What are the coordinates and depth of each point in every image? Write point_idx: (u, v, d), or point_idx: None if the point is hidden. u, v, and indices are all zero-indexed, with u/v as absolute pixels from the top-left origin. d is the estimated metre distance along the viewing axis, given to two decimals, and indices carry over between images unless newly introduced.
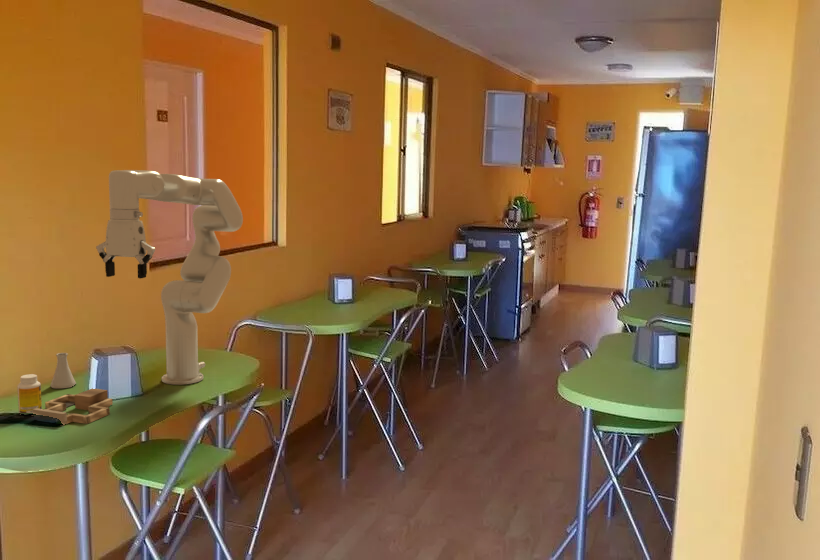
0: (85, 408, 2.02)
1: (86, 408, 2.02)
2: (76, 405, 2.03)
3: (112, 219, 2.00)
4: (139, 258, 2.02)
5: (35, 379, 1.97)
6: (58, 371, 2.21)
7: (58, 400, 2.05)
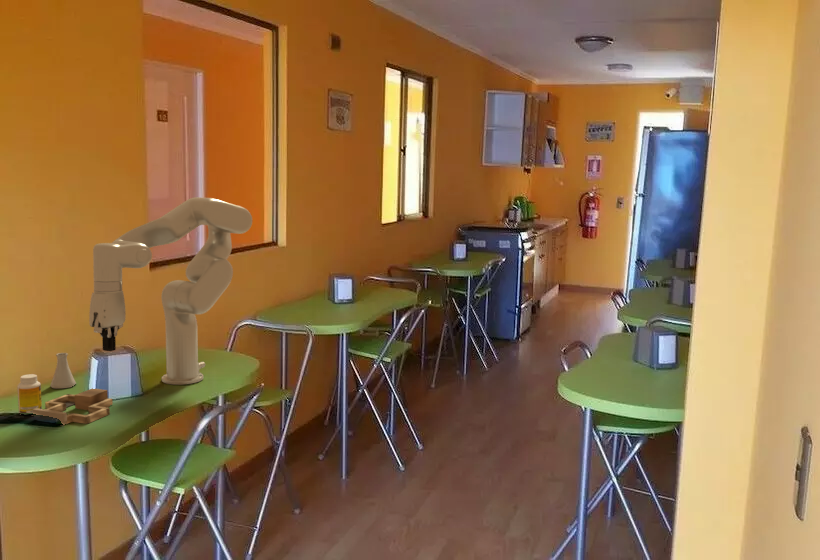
0: (85, 408, 2.02)
1: (86, 408, 2.02)
2: (76, 405, 2.03)
3: (114, 291, 2.07)
4: (116, 330, 2.12)
5: (35, 379, 1.97)
6: (58, 371, 2.21)
7: (58, 400, 2.05)
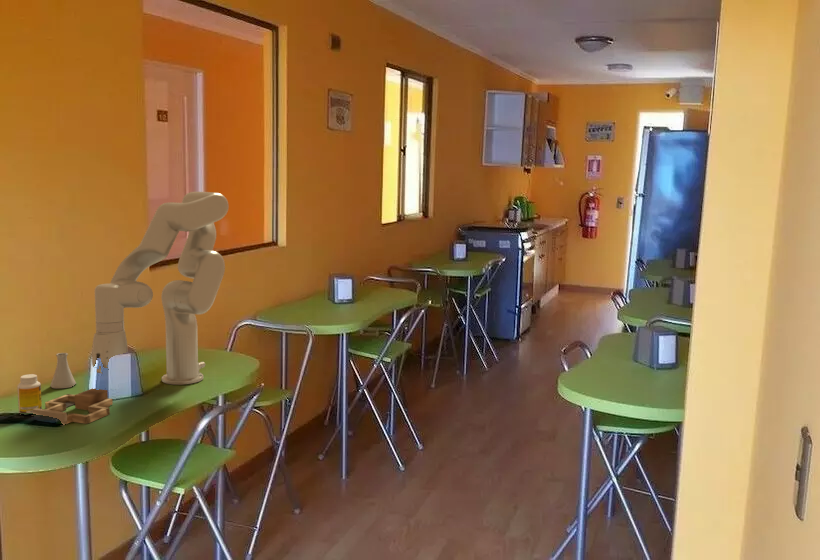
0: (85, 408, 2.02)
1: (86, 408, 2.02)
2: (76, 405, 2.03)
3: (116, 332, 2.08)
4: None
5: (35, 379, 1.97)
6: (58, 371, 2.21)
7: (58, 400, 2.05)
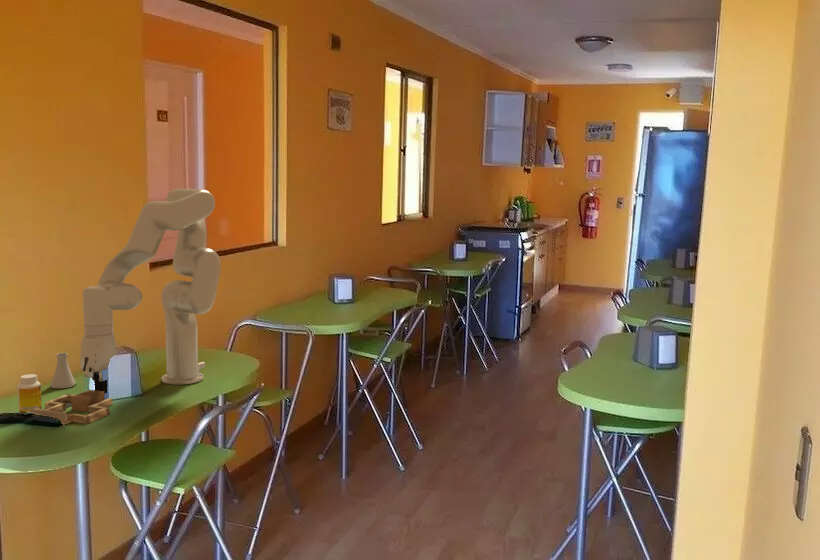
0: (82, 410, 2.01)
1: (83, 410, 2.01)
2: (73, 407, 2.02)
3: (105, 335, 2.04)
4: None
5: (35, 379, 1.97)
6: (58, 371, 2.21)
7: (58, 400, 2.05)
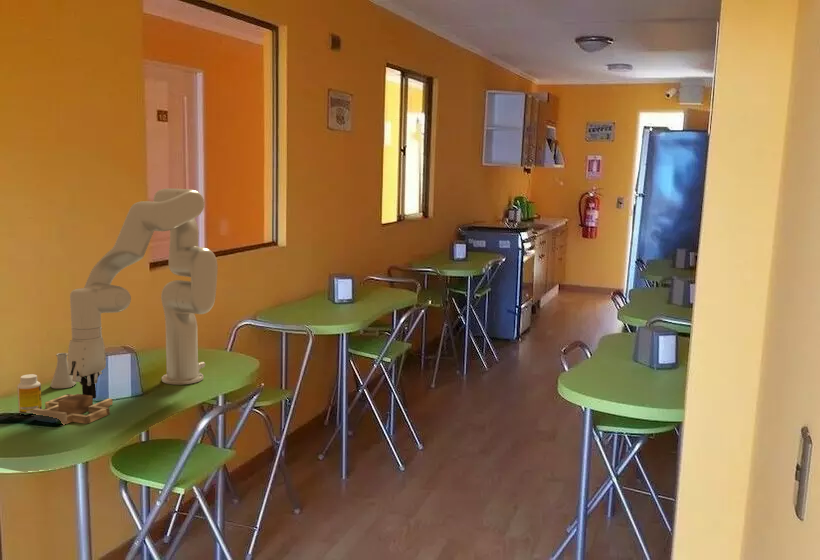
0: None
1: None
2: (60, 411, 1.97)
3: (93, 339, 2.00)
4: (96, 377, 2.05)
5: (35, 379, 1.97)
6: (58, 371, 2.21)
7: (58, 400, 2.05)
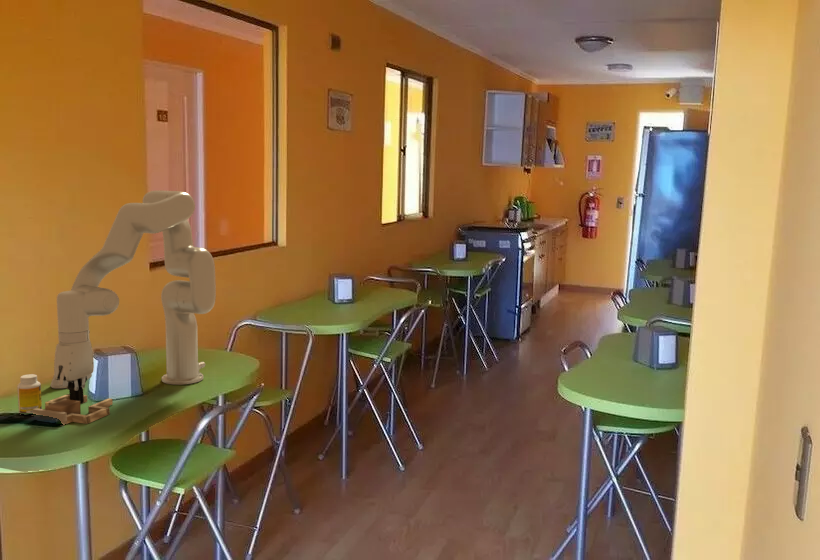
0: None
1: None
2: None
3: (80, 342, 1.95)
4: (84, 382, 2.00)
5: (35, 379, 1.97)
6: None
7: (58, 400, 2.05)
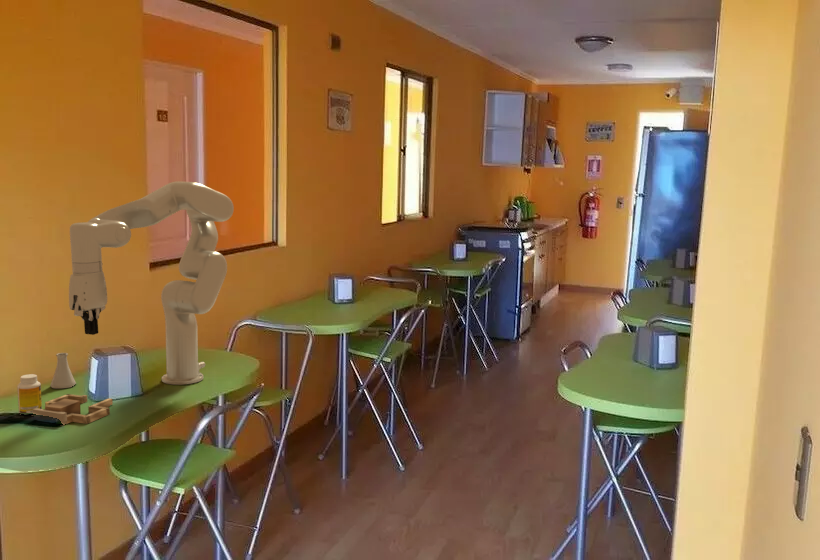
0: None
1: None
2: None
3: (93, 273, 1.98)
4: (98, 313, 2.04)
5: (35, 379, 1.97)
6: (58, 371, 2.21)
7: (58, 400, 2.05)
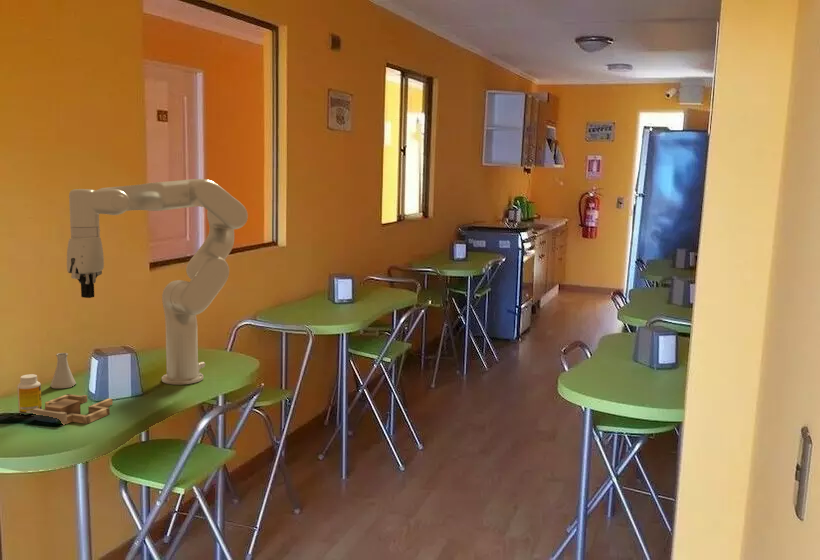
0: None
1: None
2: None
3: (91, 237, 2.06)
4: (94, 277, 2.11)
5: (35, 379, 1.97)
6: (58, 371, 2.21)
7: (58, 400, 2.05)
